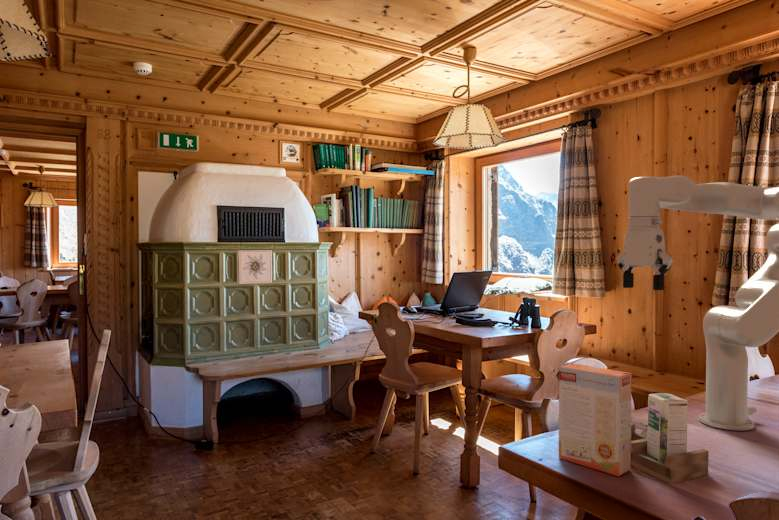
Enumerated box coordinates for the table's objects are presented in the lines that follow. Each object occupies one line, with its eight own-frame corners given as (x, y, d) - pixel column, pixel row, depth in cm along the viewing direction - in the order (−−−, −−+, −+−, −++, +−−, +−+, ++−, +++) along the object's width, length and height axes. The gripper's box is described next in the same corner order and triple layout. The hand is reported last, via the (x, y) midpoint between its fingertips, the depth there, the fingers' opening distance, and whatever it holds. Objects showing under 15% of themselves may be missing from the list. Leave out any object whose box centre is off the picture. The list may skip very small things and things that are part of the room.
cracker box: (632, 470, 116) (633, 372, 115) (618, 478, 112) (619, 376, 111) (571, 451, 126) (572, 361, 126) (557, 458, 122) (558, 365, 122)
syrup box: (645, 459, 119) (646, 393, 119) (670, 458, 120) (671, 392, 119) (662, 470, 113) (663, 400, 113) (688, 468, 114) (689, 399, 114)
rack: (630, 443, 132) (631, 422, 132) (708, 474, 113) (708, 450, 113) (595, 449, 127) (595, 428, 127) (670, 483, 109) (670, 458, 109)
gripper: (682, 223, 138) (681, 290, 138) (628, 225, 154) (627, 286, 154) (661, 222, 135) (660, 291, 135) (607, 225, 151) (607, 287, 151)
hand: (642, 288), depth 145 cm, fingers open, 9 cm apart
